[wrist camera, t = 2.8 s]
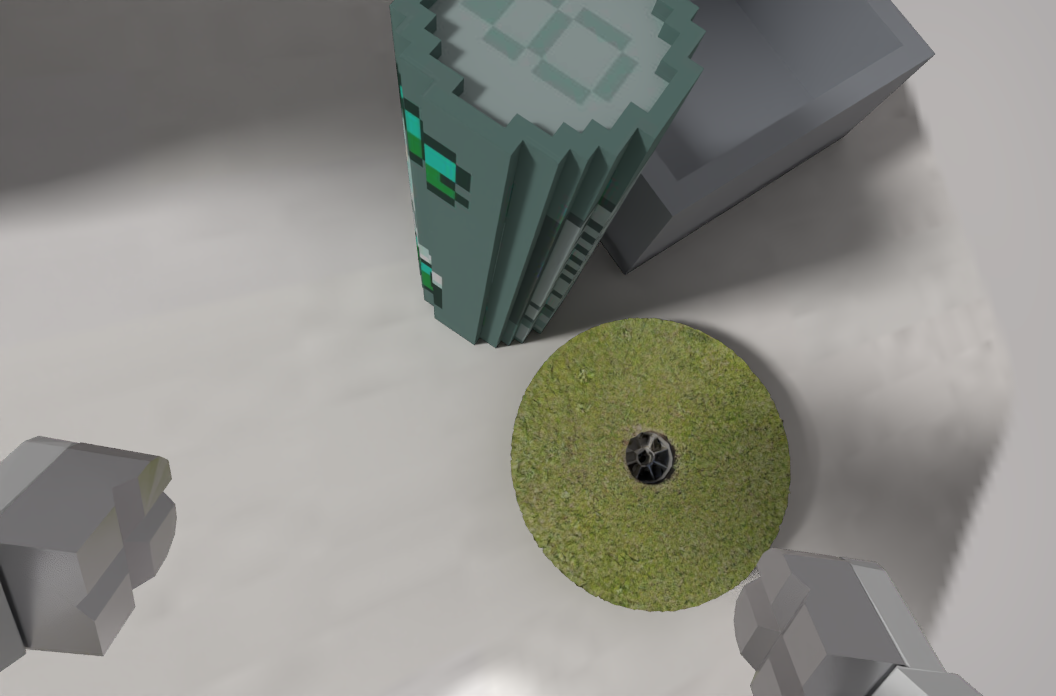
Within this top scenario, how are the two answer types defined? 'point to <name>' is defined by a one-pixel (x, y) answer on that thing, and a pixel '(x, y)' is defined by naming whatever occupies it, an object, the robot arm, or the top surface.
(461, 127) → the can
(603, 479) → the mat
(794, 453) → the top surface
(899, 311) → the top surface
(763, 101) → the bin
